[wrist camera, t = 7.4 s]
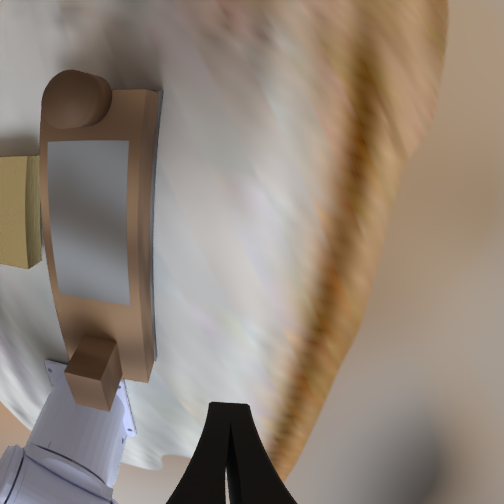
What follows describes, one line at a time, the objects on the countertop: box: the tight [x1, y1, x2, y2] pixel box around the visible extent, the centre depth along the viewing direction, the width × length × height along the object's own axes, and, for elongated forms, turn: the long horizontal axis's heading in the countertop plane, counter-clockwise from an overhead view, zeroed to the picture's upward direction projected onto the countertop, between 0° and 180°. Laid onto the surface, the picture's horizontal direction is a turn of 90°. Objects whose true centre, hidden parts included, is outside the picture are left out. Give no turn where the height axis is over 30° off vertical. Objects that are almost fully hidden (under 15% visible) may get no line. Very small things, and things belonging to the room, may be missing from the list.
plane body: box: [39, 70, 163, 412], centre depth 15 cm, size 19×6×6 cm, turn 173°
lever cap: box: [0, 156, 42, 269], centre depth 15 cm, size 7×4×2 cm, turn 172°
